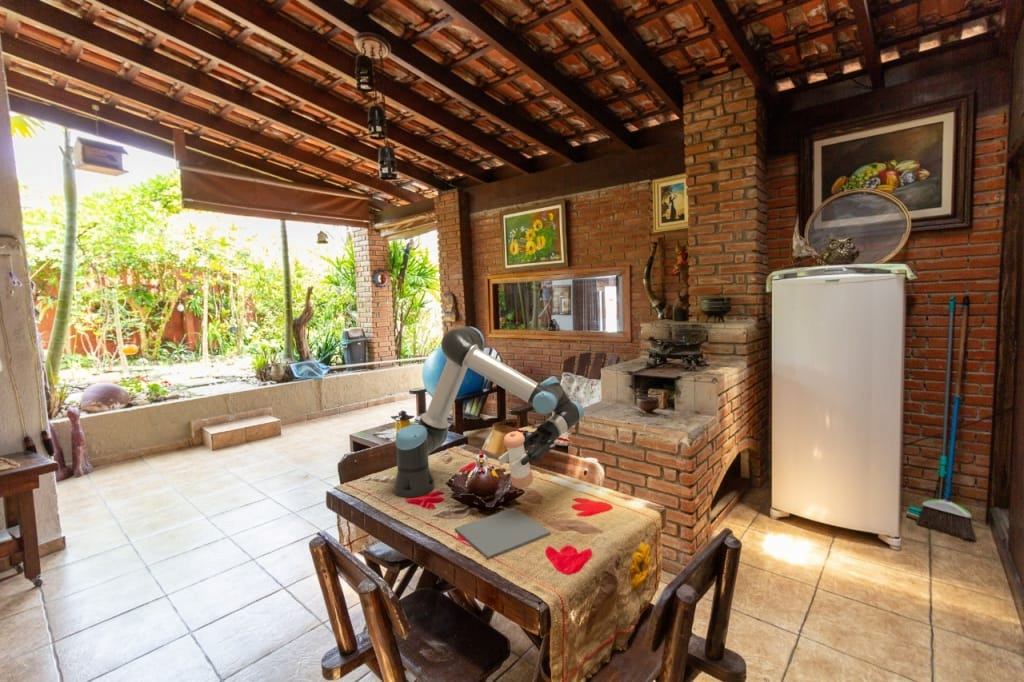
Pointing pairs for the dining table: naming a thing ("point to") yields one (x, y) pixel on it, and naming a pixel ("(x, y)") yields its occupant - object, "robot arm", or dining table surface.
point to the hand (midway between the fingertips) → (506, 464)
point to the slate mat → (501, 532)
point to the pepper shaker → (515, 451)
